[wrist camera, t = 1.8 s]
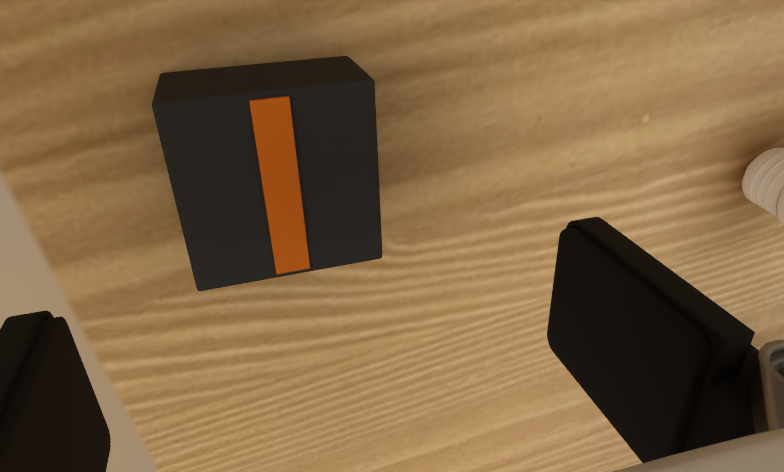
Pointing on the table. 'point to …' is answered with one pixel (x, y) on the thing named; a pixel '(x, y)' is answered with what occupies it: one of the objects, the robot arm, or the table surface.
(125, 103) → the table surface
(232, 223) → the tile
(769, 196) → the lightbulb
